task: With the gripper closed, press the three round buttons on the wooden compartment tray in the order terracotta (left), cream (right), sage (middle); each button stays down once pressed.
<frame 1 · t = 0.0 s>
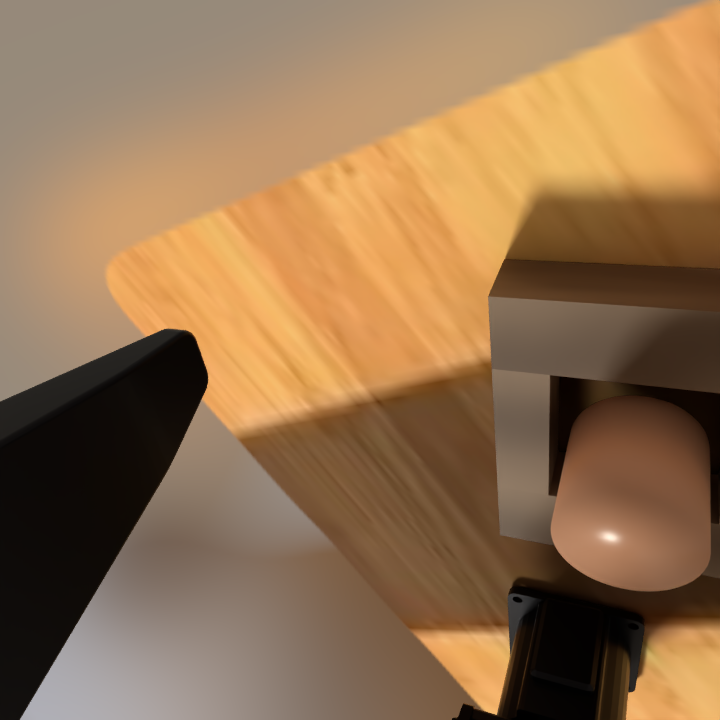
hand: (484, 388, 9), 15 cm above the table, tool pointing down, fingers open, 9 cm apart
button rust: (632, 491, 23), point 4 cm above the table, slide at 0.0 cm
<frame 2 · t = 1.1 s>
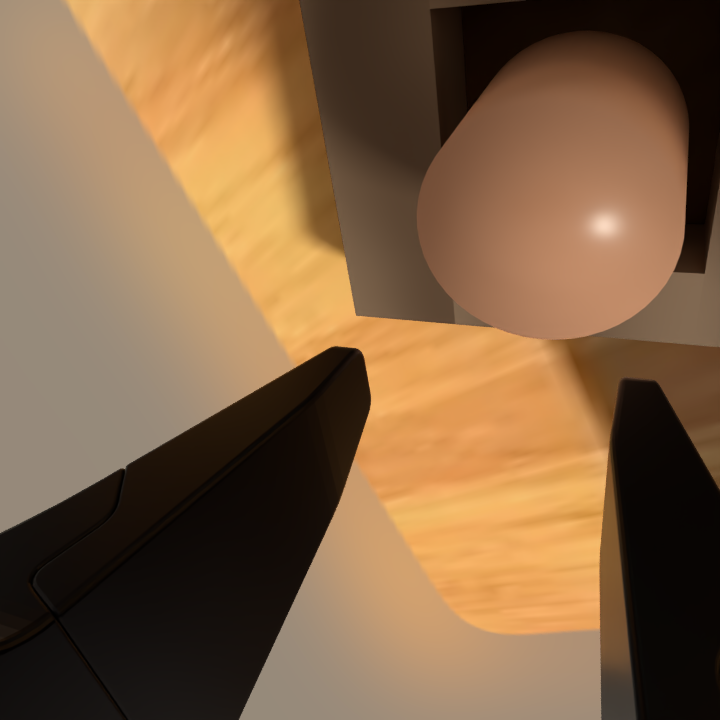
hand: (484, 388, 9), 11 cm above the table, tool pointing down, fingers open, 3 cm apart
button rust: (559, 182, 14), point 4 cm above the table, slide at 0.0 cm
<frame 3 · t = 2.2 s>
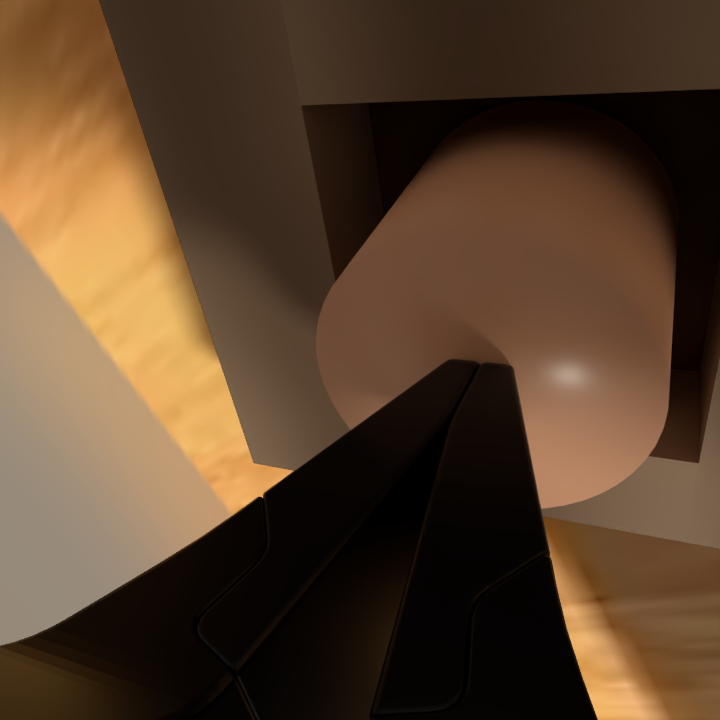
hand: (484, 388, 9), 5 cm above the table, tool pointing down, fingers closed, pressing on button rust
button rust: (510, 298, 11), point 3 cm above the table, slide at 1.8 cm, touching gripper
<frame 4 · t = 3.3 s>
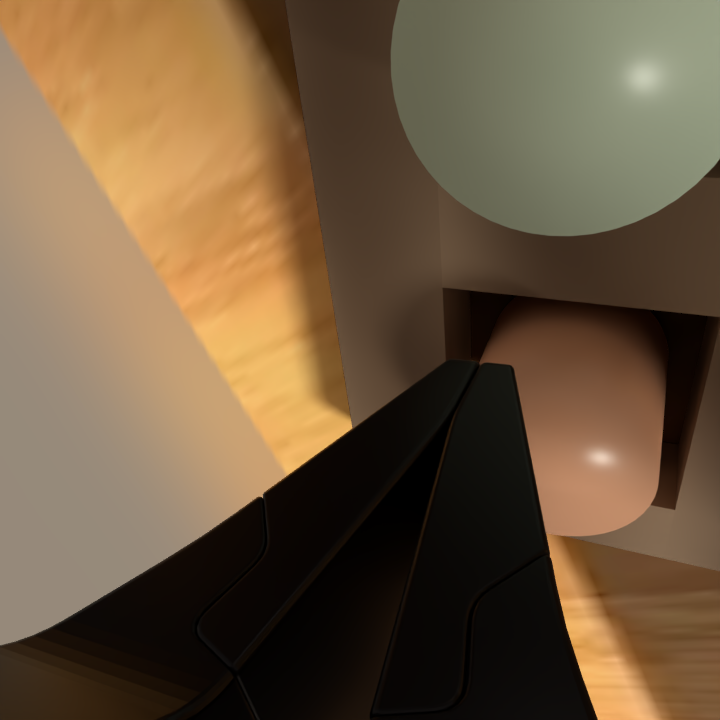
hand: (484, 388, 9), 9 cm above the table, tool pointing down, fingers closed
button sage: (582, 31, 10), point 4 cm above the table, slide at 0.0 cm
button rust: (563, 404, 17), point 3 cm above the table, slide at 1.9 cm
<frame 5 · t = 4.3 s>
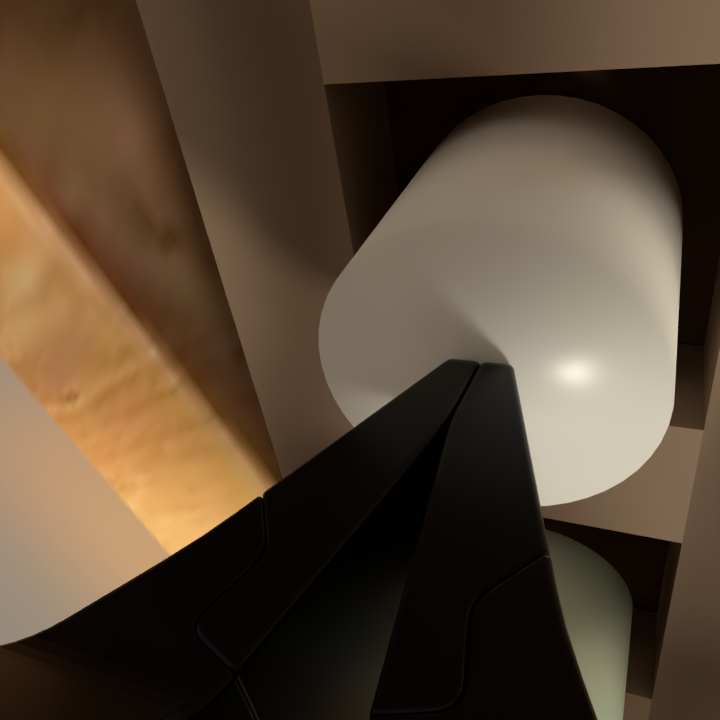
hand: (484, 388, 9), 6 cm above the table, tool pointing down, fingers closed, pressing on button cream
button sage: (512, 672, 15), point 4 cm above the table, slide at 0.0 cm
wooden compartment tray: (545, 518, 18), on the table
button cream: (514, 294, 11), point 3 cm above the table, slide at 1.1 cm, touching gripper
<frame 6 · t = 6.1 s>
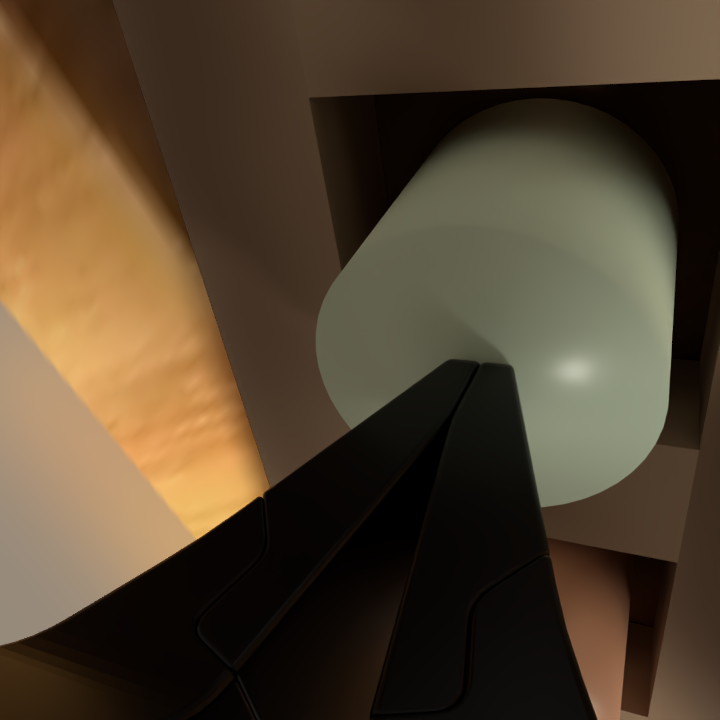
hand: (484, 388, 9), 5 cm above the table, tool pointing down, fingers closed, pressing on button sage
button sage: (510, 296, 11), point 3 cm above the table, slide at 1.5 cm, touching gripper
wooden compartment tray: (541, 214, 13), on the table
button rust: (521, 617, 16), point 3 cm above the table, slide at 1.9 cm
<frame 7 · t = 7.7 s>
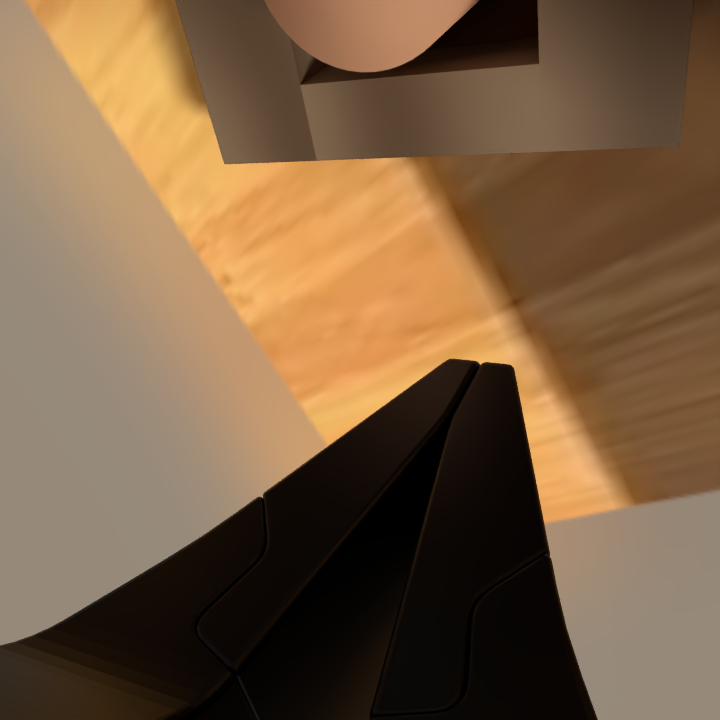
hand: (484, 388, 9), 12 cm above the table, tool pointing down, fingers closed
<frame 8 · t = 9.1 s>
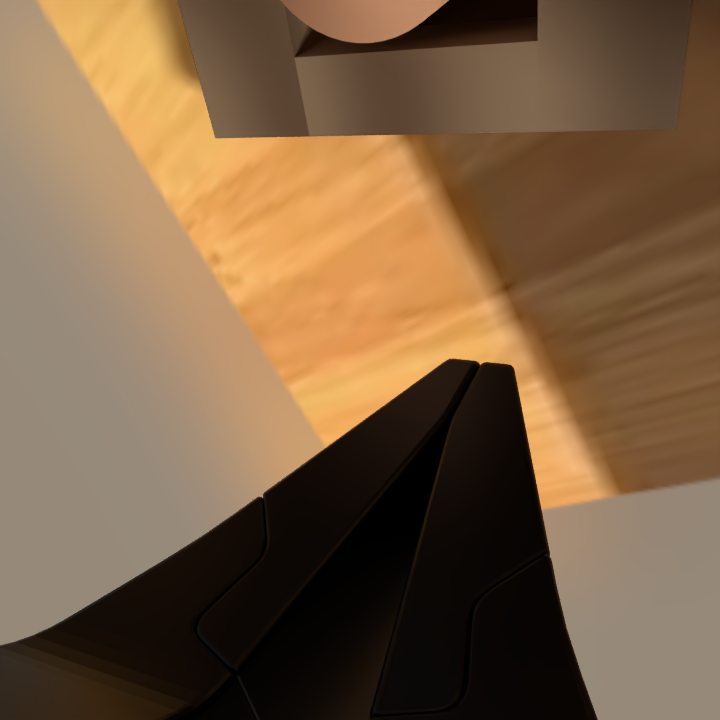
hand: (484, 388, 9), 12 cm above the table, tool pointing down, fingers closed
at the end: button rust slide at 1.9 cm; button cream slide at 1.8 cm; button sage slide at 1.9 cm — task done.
